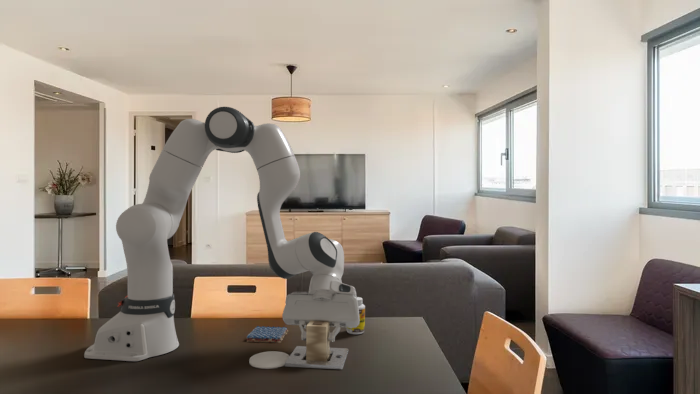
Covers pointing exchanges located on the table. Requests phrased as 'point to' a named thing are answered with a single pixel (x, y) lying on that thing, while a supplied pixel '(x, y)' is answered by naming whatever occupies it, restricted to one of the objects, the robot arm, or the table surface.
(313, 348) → the block
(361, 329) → the supplement bottle
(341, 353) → the rail plate
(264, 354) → the pad
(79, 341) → the table surface
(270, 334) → the woven mat
